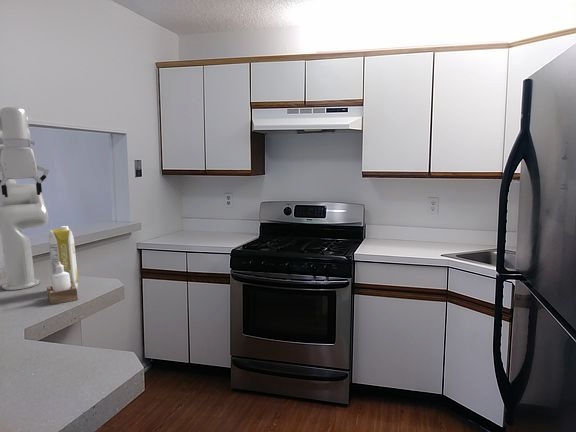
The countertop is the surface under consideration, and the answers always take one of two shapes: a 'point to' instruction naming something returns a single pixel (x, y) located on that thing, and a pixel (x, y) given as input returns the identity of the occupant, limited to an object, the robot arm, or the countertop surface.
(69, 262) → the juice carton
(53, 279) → the eye dropper bottle
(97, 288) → the countertop surface
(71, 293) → the bottle holder
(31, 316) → the countertop surface
